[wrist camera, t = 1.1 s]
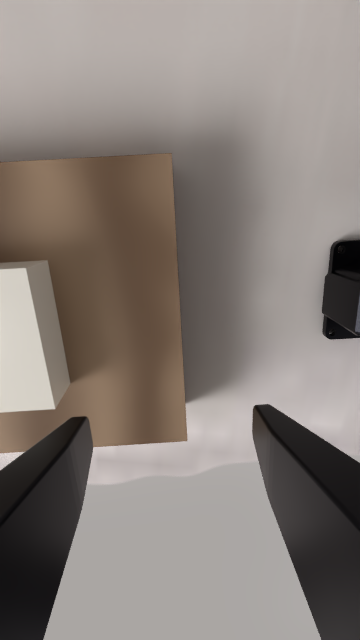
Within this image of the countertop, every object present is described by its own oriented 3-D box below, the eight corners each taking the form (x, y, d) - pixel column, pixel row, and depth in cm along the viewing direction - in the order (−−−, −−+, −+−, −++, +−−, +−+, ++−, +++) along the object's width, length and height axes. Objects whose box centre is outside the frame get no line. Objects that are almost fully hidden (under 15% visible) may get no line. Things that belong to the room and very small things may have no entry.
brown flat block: (171, 166, 18) (171, 153, 14) (184, 404, 23) (187, 441, 19) (-126, 182, 18) (-205, 173, 14) (-47, 418, 23) (-90, 459, 19)
